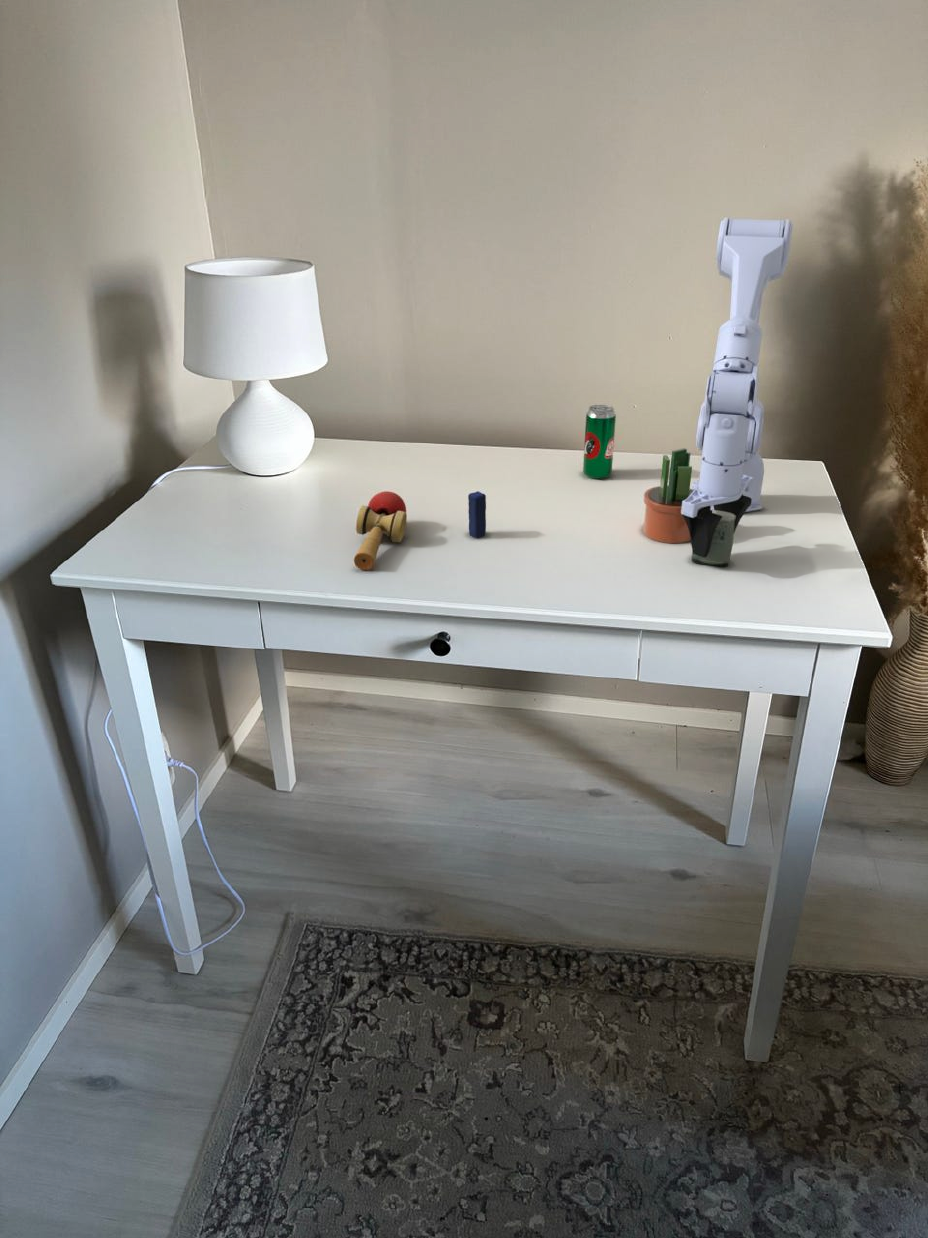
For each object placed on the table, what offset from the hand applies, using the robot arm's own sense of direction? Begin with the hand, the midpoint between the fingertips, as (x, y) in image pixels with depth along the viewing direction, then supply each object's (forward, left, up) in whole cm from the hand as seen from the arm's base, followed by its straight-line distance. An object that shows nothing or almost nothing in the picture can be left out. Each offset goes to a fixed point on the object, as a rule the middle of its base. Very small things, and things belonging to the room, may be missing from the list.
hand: (711, 548), depth 140 cm
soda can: (-1, -37, -2) cm, 37 cm away
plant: (0, -11, -2) cm, 11 cm away
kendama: (+43, -23, -2) cm, 49 cm away
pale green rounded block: (0, 0, -2) cm, 2 cm away
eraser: (+28, -21, -2) cm, 35 cm away
